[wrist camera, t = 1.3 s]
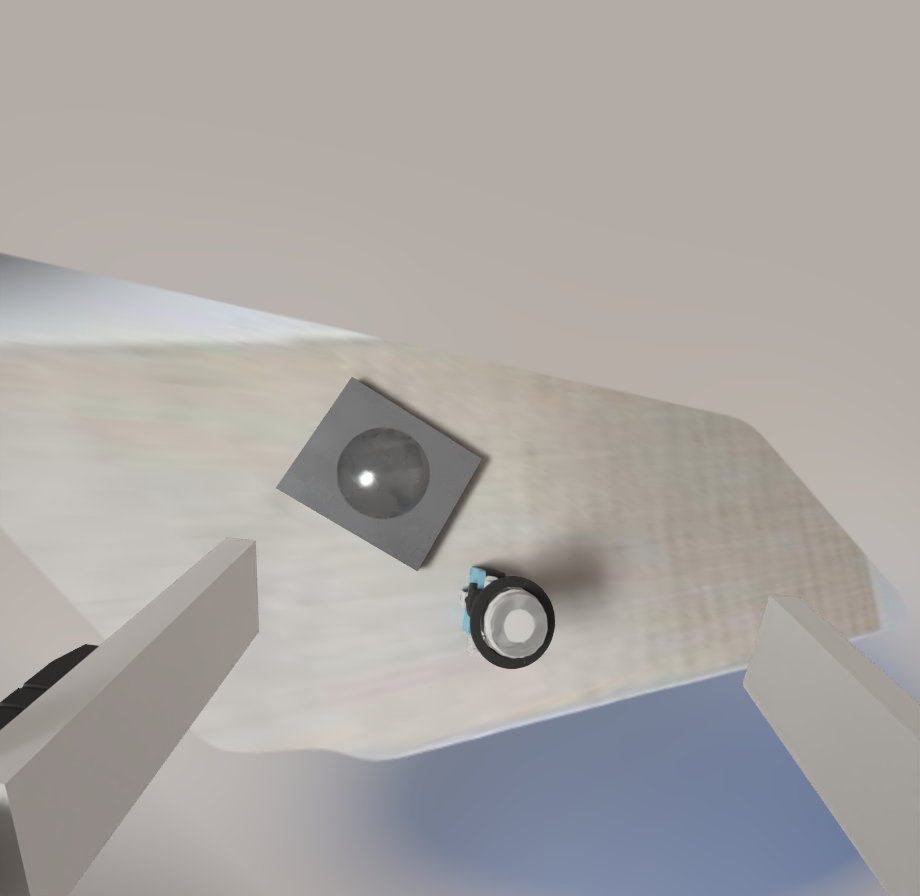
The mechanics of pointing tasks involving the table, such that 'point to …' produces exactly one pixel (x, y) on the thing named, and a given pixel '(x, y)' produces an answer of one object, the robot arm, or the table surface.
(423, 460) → the flange plate
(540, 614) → the push button
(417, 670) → the table surface
